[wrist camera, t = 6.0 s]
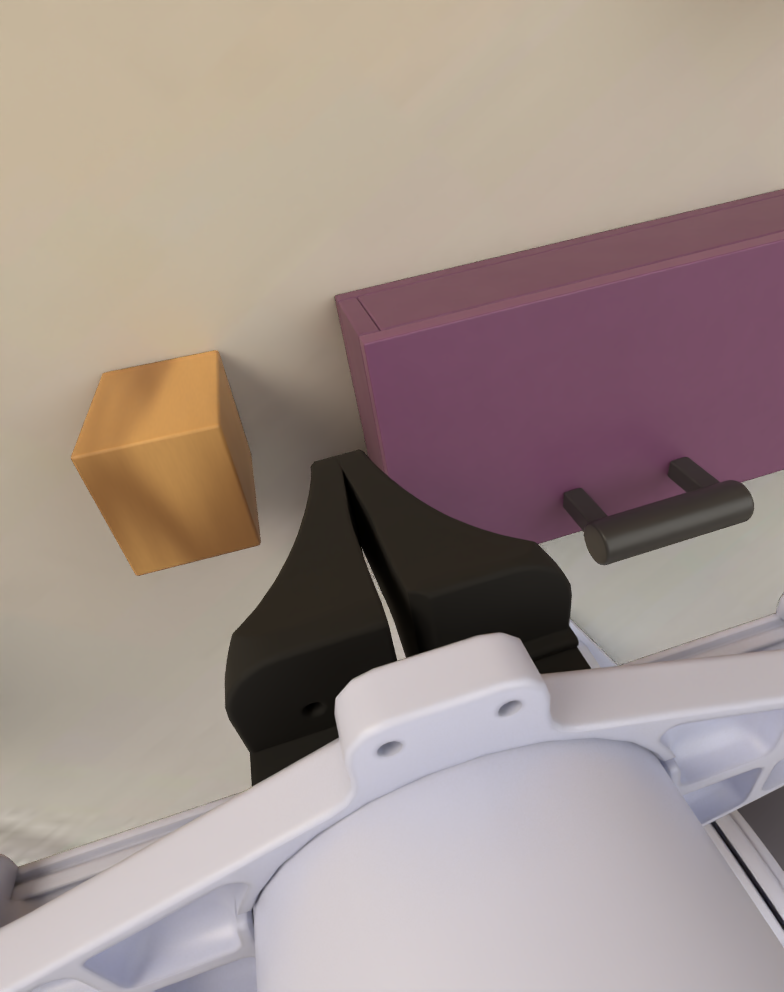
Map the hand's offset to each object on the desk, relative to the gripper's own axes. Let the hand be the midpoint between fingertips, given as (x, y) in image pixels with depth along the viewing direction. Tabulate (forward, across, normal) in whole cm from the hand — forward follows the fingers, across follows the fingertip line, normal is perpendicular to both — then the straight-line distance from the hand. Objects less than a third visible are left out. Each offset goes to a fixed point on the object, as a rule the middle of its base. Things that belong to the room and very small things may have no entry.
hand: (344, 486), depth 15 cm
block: (+3, +3, 0) cm, 4 cm away
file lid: (+2, -10, +1) cm, 10 cm away
